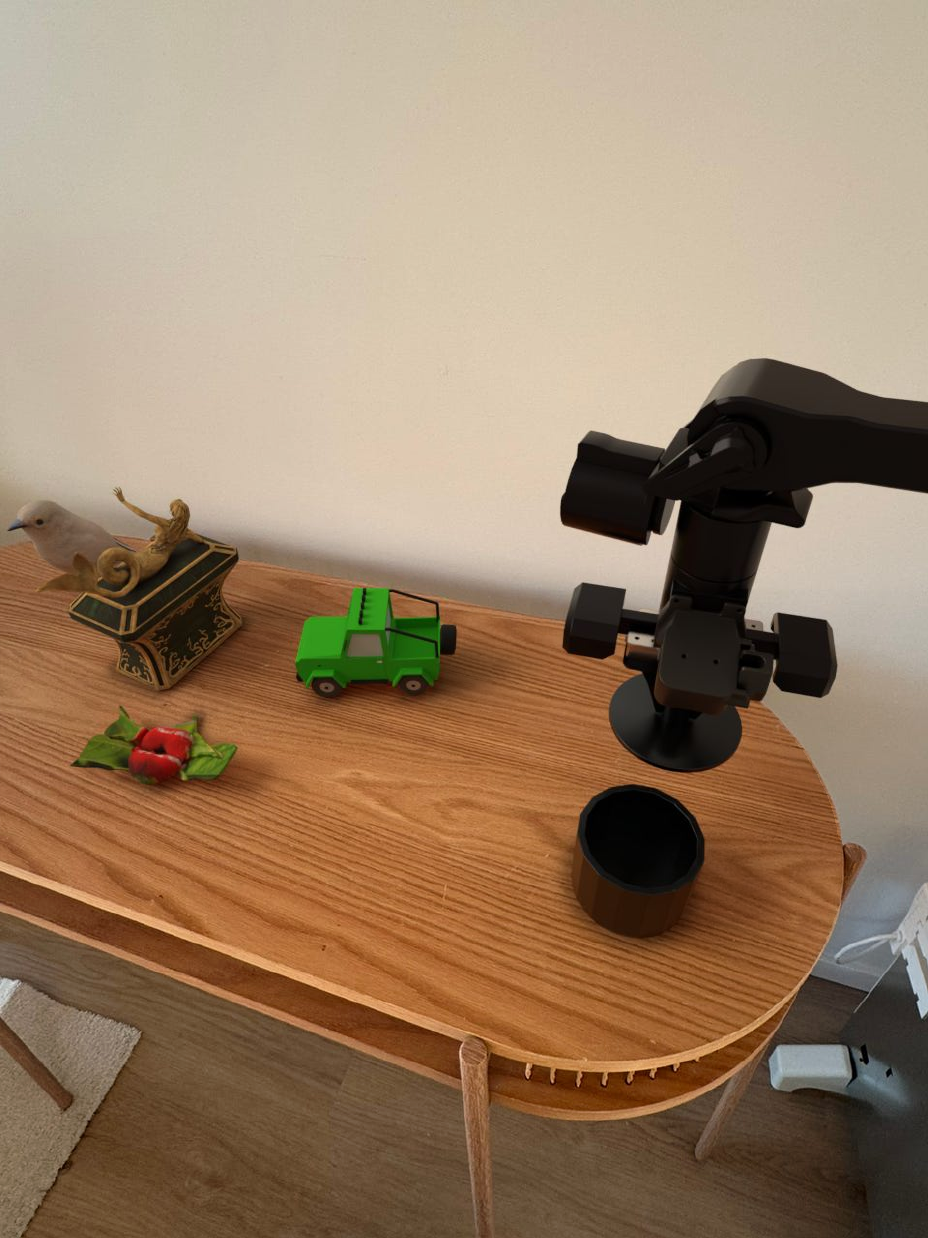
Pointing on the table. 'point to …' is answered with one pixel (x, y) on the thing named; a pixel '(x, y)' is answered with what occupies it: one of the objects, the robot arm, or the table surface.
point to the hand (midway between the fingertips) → (675, 712)
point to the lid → (671, 731)
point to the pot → (636, 860)
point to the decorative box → (156, 598)
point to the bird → (64, 535)
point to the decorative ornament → (155, 751)
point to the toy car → (373, 646)
